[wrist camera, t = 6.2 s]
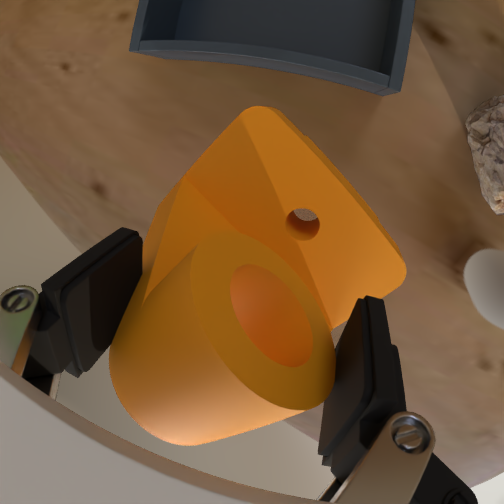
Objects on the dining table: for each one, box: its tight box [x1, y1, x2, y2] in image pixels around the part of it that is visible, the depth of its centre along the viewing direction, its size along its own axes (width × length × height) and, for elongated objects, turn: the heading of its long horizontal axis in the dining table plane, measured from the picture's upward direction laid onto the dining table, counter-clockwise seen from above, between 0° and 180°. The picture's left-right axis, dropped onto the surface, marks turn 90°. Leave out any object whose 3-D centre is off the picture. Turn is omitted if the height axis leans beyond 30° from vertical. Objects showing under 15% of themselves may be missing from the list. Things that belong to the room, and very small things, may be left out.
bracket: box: [109, 106, 406, 446], centre depth 12 cm, size 11×7×12 cm, turn 45°
